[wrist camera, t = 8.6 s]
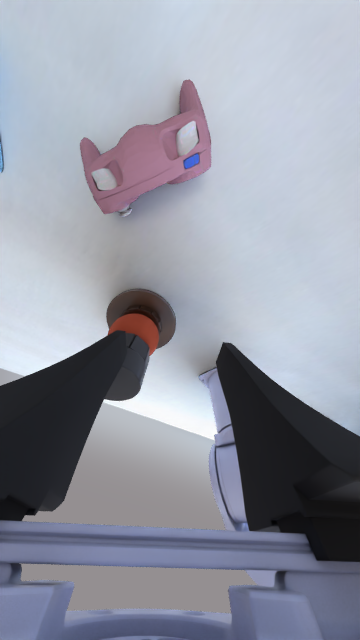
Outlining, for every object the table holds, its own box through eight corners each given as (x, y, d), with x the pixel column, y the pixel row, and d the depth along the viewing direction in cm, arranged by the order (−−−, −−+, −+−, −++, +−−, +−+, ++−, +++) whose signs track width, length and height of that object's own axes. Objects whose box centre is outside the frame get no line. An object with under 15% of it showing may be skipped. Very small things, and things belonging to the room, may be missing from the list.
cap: (160, 354, 15) (152, 387, 11) (129, 372, 16) (114, 407, 13) (125, 322, 13) (104, 351, 9) (94, 346, 14) (65, 379, 11)
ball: (170, 328, 19) (165, 358, 14) (141, 347, 21) (127, 380, 16) (140, 297, 17) (122, 319, 12) (111, 321, 19) (84, 350, 14)
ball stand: (188, 327, 21) (189, 334, 19) (142, 356, 24) (139, 364, 22) (143, 273, 17) (138, 276, 15) (95, 315, 20) (86, 322, 18)
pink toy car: (115, 207, 15) (102, 234, 11) (79, 142, 11) (39, 146, 7) (202, 168, 13) (224, 183, 9) (193, 77, 10) (224, 36, 6)
